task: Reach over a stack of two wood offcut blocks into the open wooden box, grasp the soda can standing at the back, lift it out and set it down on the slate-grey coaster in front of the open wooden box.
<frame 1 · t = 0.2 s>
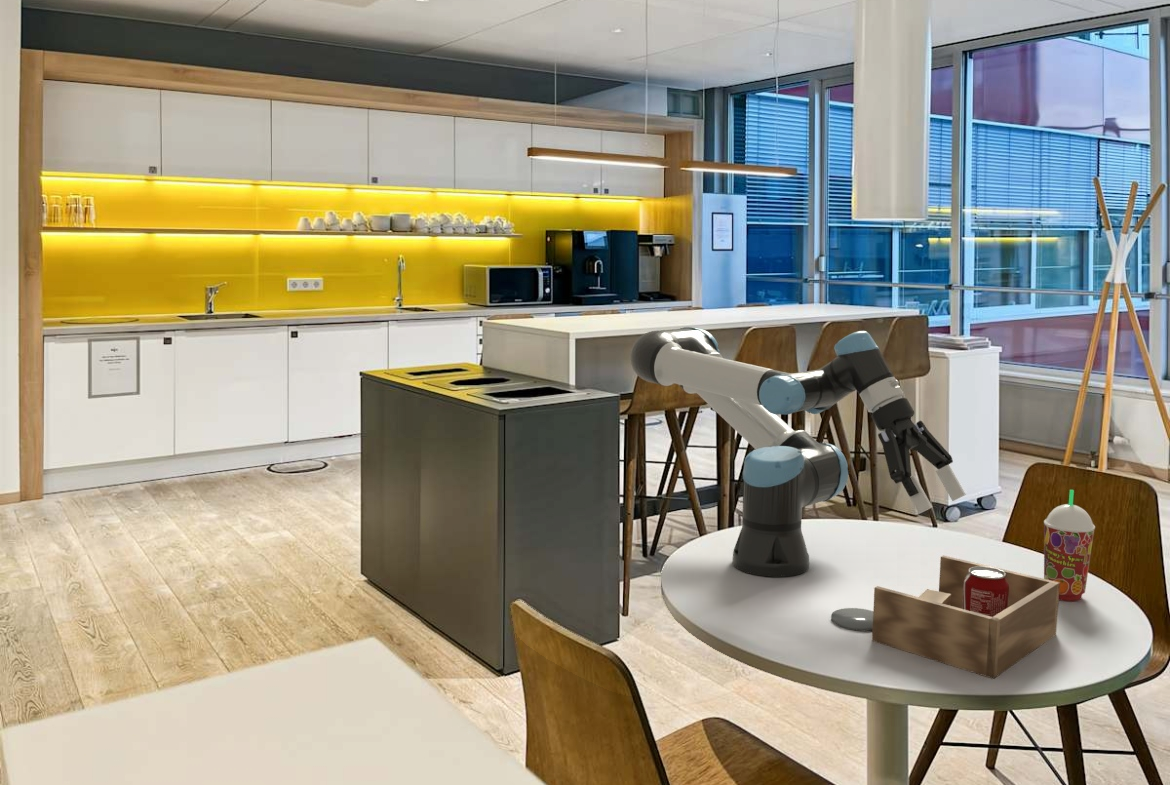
hand: (943, 504, 184), 16 cm above the table, tool tilted 35°, fingers open, 13 cm apart
smoothie: (1063, 597, 181), on the table
soda can: (982, 644, 159), resting in open wooden box
coaster: (858, 620, 169), on the table
open wooden box: (964, 637, 161), on the table
offcut top: (932, 613, 165), point 3 cm above the table, touching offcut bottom
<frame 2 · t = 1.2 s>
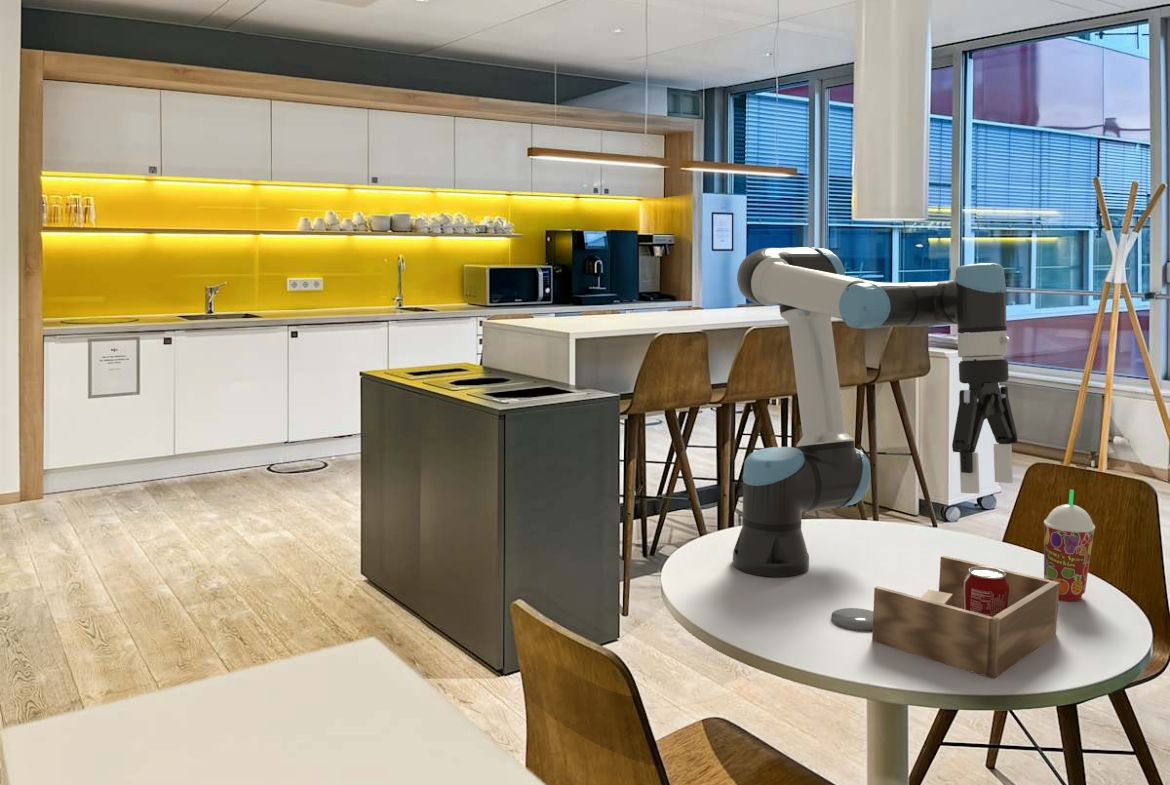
hand: (987, 487, 162), 24 cm above the table, tool pointing down, fingers open, 13 cm apart
offcut top: (935, 614, 165), point 3 cm above the table
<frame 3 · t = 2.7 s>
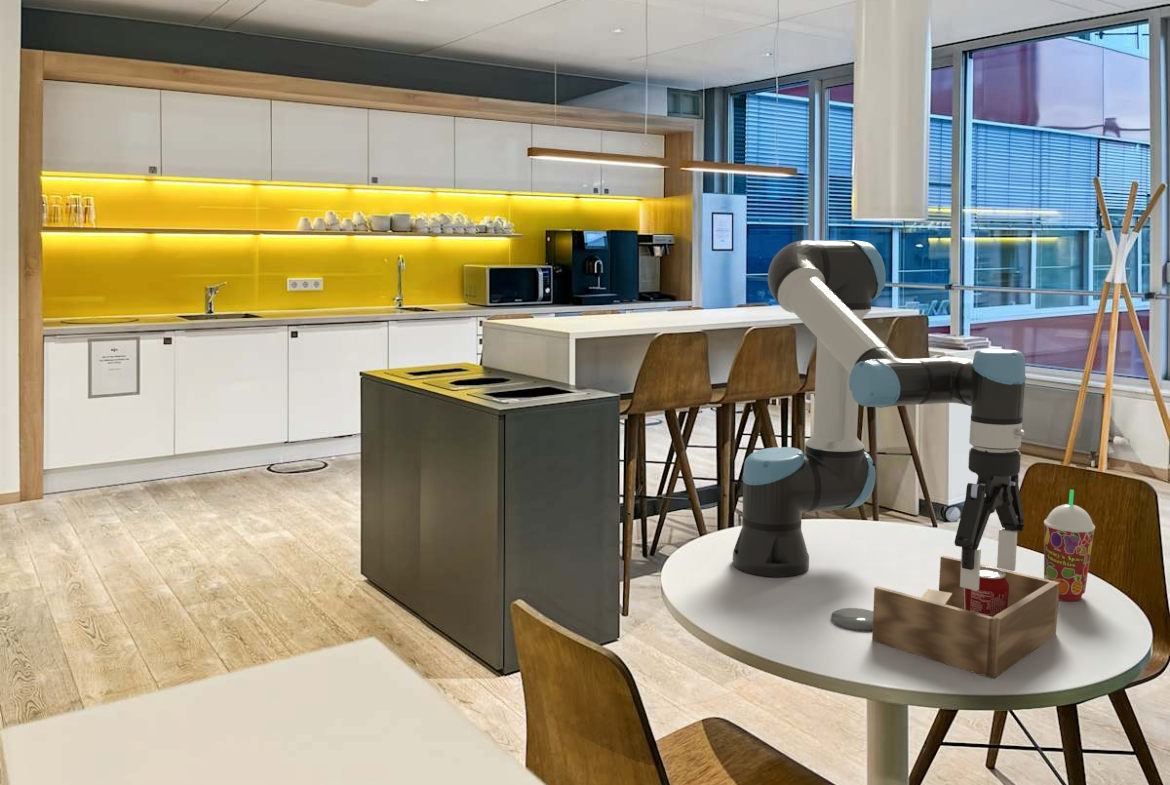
hand: (988, 578, 157), 11 cm above the table, tool pointing down, fingers open, 13 cm apart
offcut top: (935, 613, 165), point 3 cm above the table, touching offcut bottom
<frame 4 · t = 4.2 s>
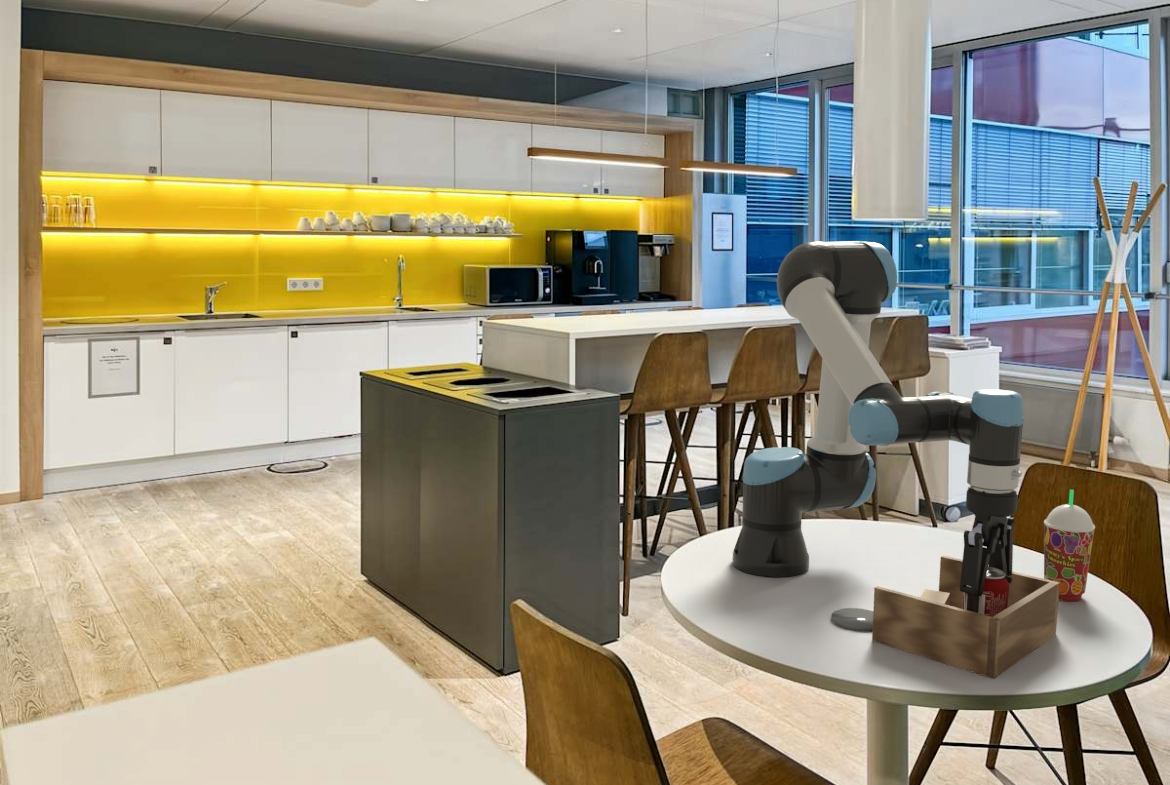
hand: (983, 626, 159), 3 cm above the table, tool pointing down, fingers closed on soda can, 7 cm apart
soda can: (982, 644, 159), resting in open wooden box, touching gripper
everything else where it was.
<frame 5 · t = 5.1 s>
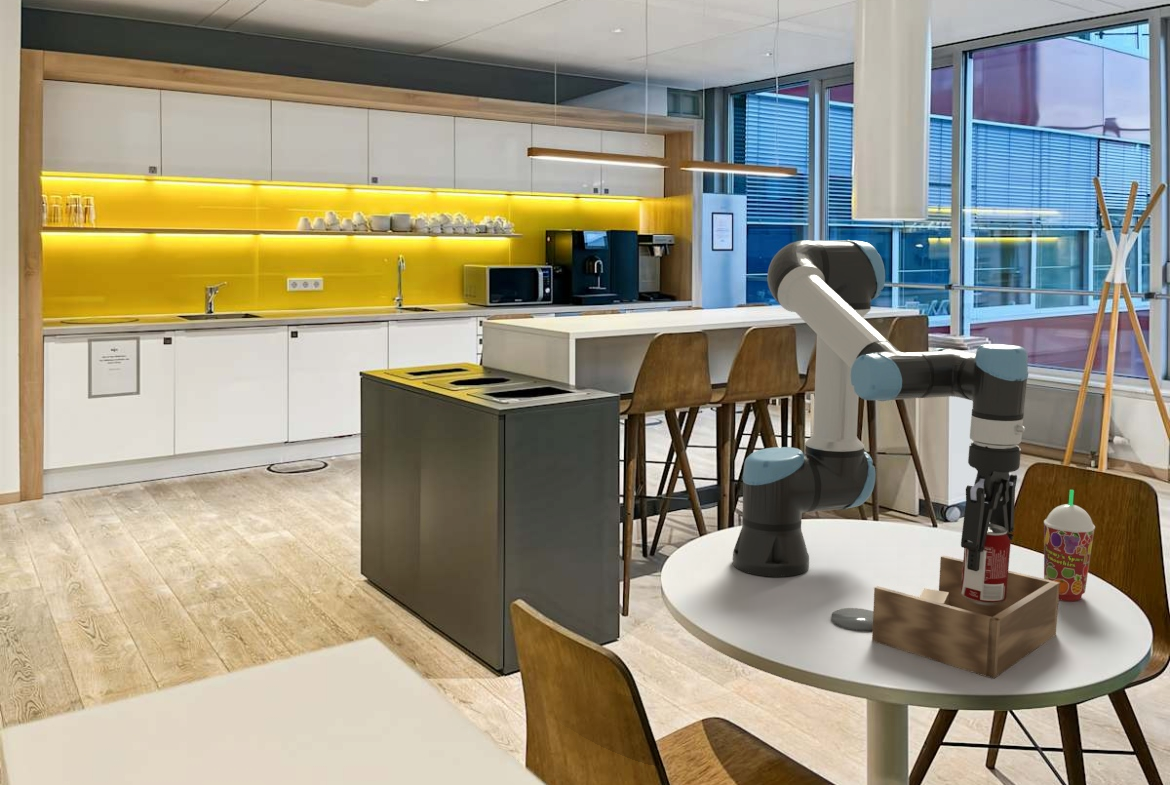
hand: (984, 582, 158), 10 cm above the table, tool pointing down, fingers closed on soda can, 7 cm apart
soda can: (982, 600, 159), point 7 cm above the table, touching gripper
everything else where it was.
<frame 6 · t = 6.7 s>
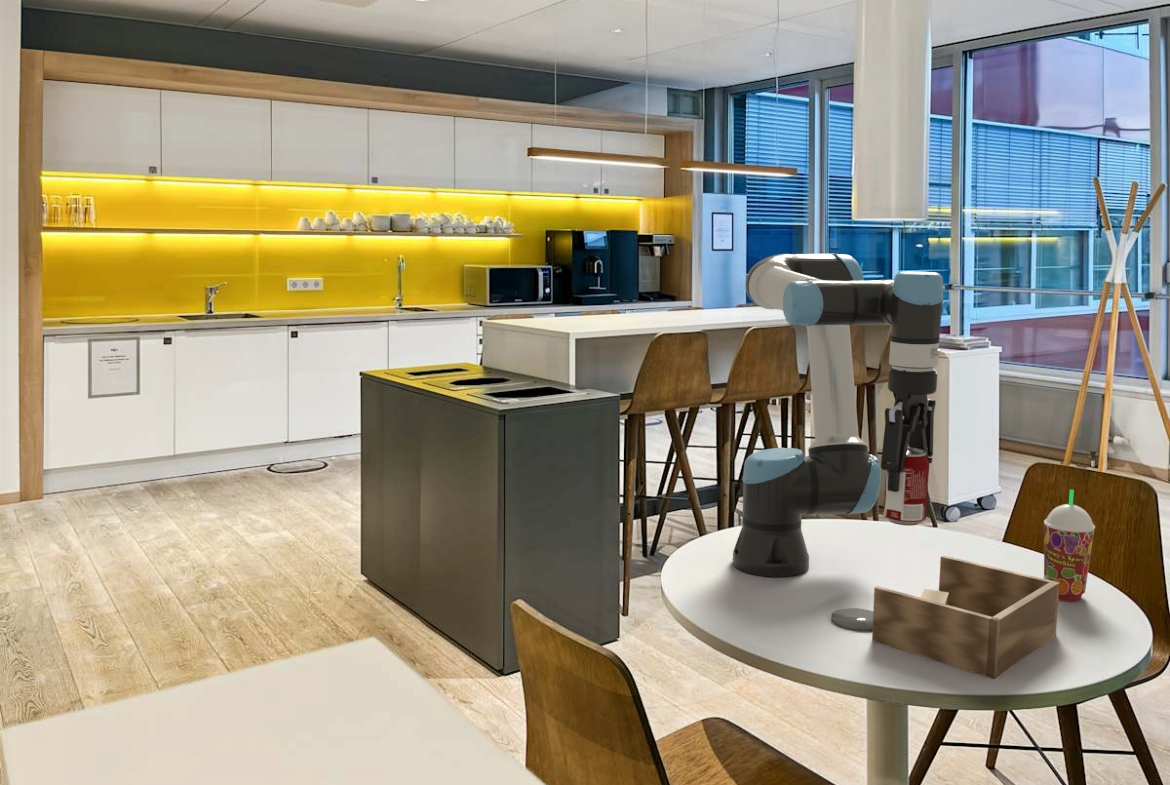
hand: (904, 504, 163), 21 cm above the table, tool pointing down, fingers closed on soda can, 7 cm apart
soda can: (904, 522, 164), point 18 cm above the table, touching gripper
everything else where it was.
when the fingers open (4 cm above the table, at t = 9.7 s): soda can stays where it is, resting on coaster.
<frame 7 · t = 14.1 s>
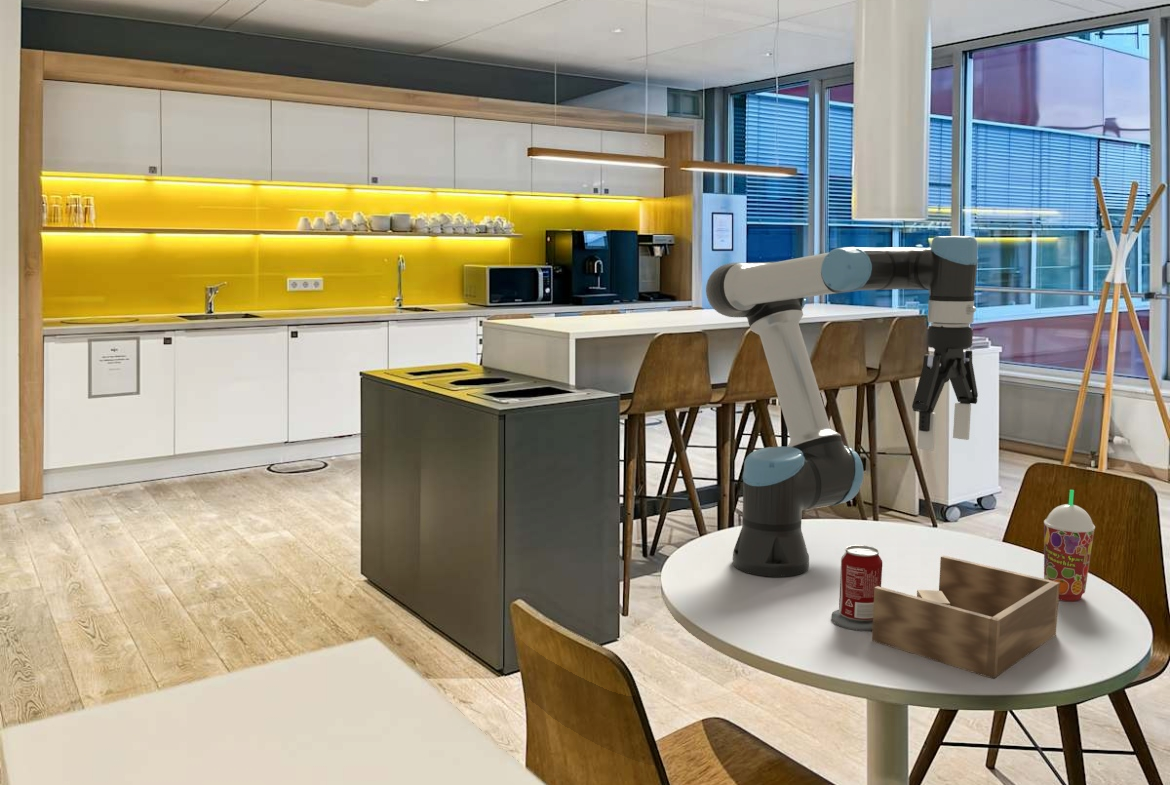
hand: (943, 444, 175), 29 cm above the table, tool pointing down, fingers open, 13 cm apart
soda can: (859, 618, 169), resting on coaster
at the end: soda can 0.1 cm from the coaster (horizontally); soda can tilted 0°; the gripper is holding nothing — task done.
